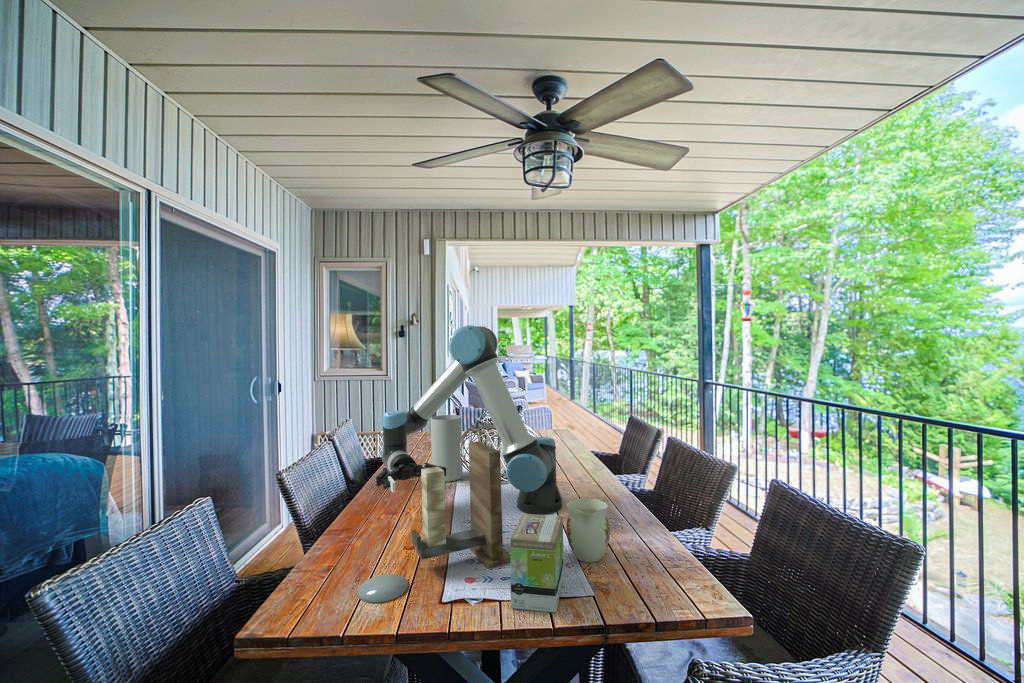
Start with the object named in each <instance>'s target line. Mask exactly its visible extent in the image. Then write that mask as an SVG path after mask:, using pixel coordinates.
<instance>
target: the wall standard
mask: <svg viewBox="0 0 1024 683" xmlns="http://www.w3.org/2000/svg"><path fill="white" fill-rule="evenodd" d="M468 464H469V465H468V467H469V468H468V469H469V471H468V472H469V473H468V474H469V501H470V502H469V504H470V505H469V506H470V508H469V509H470V510H469V511H470V512H469V513H470V529H468V530H467V529H466V530H462V531H458V532H454V533H449V534H446V544H441V545H437V546H433V547H428V546H427V545H426V544H425V542H424V541H423V539H422V536H421V535H420V534H419V532H418V531H417V530H416V529H414V530H411V543H412V545H413V546H414V547H415V552H416V554H417V555H418V557H419V558H420V560H423V561H424V560H427V559H431V558H436V557H440V556H443V555H447V554H452V553H456V552H460V551H464V550H468V549H469V550H470V551H471V552H472V553H473V554H474V555H475V557H476V558H477V559H478V560H479V561H480V562H481V563H482V564H483V565H484V566H485V567H486V568H487V569H488V570H489V569H492V568H497V567H501V566H504V565H508V564H511V553H510V552H508V551H507V550H506V549H505V548H504V546H503V545H504V542H503V514H502V513H503V510H502V509H503V508H502V505H503V504H502V473H501V471H502V470H501V467H502V466H501V451H500V450H498V449H496V448H494V447H492V446H489V445H487V444H486V443H483V442H481V441H473V442H468Z"/></svg>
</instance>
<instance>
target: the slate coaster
mask: <svg viewBox="0 0 1024 683" xmlns="http://www.w3.org/2000/svg"><path fill="white" fill-rule="evenodd" d="M408 583H409V582H408V580H407V578H406V577H404V576H402V575H399V574H392V573H388V574H381V575H377V576H373V577H370V578H369V579H366V580H365V581H363V582H362V583H361V584H360V585H359V586H358V588H357V597H358V598H359V600H361V601H363V602H366V603H371V604H379V603H385V602H390V601H392V600H396V599H398V598H399V597H401V596H402V595H403V594H405V592H406V591H407V590H408V586H409V584H408Z"/></svg>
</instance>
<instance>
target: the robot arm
mask: <svg viewBox="0 0 1024 683" xmlns="http://www.w3.org/2000/svg"><path fill="white" fill-rule="evenodd" d="M497 350H498V338H497V336H496V334H495V333H494V332H493V331H492V329H490V328H488V327H486V326H477V325H476V326H475V325H472V324H471V325H469V324H468V325H464V326H461V327H459V328H457V329H455V331H454V332H453V333H452V334H451V336H450V338H449V341H448V351H449V354H450V356H451V357H452V359H453V361H452V362H451V364H449V366H448V367H446V369H445V370H444V371H443V372H442V373H441V374H440V376H439V377H437V379H436V380H435V381H434V382H433V384H431V385H430V387H429V388H428V389H427V390H426V391H425V392H424V393H423V394H422V395H421V396H420V398H419V399H418V400H416V402H415V403H414V404H413V406H411V408H409V410H408V411H404V410H389V411H386V412H384V414H383V416H382V417H383V419H382V420H383V421H382V434H383V438H382V439H383V450H382V453H381V461H382V463H383V465H384V466H385V467H383V468H382V471H380V473H379V474H377V476H376V477H375V486H376V487H381V486H382V488H383V489H384V490H386V489H389V490H390V491H391V493H392V494H395V493H397V490H396V489H397V488H396V481H408V480H409V479H411V478H421V469H426V468H433V467H440V468H441V469H442V470H444V486H445V484H446V482H445V476H446V467H441V466H437V465H432V463H429V462H424V463H423V465H422V464H418V463H417V462H416V460H415V459H414V458H413V457H412V456H410V454H409V453H408V450H407V449H408V446H407V444H408V440H407V438H408V437H407V436H410V435H412V434H414V433H417V432H418V433H419V432H420V431H422V430H423V429H424V428H426V427H427V424H428V421H429V420H431V417H434V416H433V415H435V413H436V412H437V411H438V410H439V409H441V407H443V405H444V404H445V403H446V402H447V401H448V400H449V398H450V397H451V396H452V395H453V394H454V393H455V392H456V391H457V390H458V389H459V388H460V387H461V386H462V385H463V383H464V382H466V380H467V379H468V378H469V377H471V379H472V380H473V383H474V385H475V386H476V389H477V391H478V393H479V394H478V395H480V398H481V399H482V402H483V404H484V406H485V409H486V411H487V413H488V415H489V417H490V420H491V422H492V424H493V426H494V428H495V430H496V433H497V434H498V437H499V438H500V441H501V443H502V445H503V450H502V452H501V454H502V458H503V459H504V462H505V464H506V465H507V466H506V471H505V472H506V477H507V479H508V480H507V481H508V482H509V484H510V485H511V486H512V487H513V488H515V489H516V490H519V492H518V496H517V498H516V499H517V500H516V501H517V502H516V506H517V508H518V510H519V511H521V512H523V513H525V514H535V515H548V514H552V513H555V512H558V511H560V510H561V509H562V508H563V498H562V494H561V493H560V489H559V486H558V483H557V457H556V454H557V453H556V452H557V450H556V449H557V446H556V441H555V439H554V438H552V437H545V436H544V437H543V436H533V435H531V434H529V431H528V430H527V427H526V425H525V423H524V420H523V419H522V417H521V415H520V413H519V409H518V408H517V406H516V404H515V402H514V400H513V398H512V396H511V393H510V391H509V389H508V387H507V385H506V383H505V382H506V381H505V380H504V378H503V376H502V375H501V372H500V370H499V367H498V366H497V363H498V361H499V356H498V355H497V353H496V352H497Z"/></svg>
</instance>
